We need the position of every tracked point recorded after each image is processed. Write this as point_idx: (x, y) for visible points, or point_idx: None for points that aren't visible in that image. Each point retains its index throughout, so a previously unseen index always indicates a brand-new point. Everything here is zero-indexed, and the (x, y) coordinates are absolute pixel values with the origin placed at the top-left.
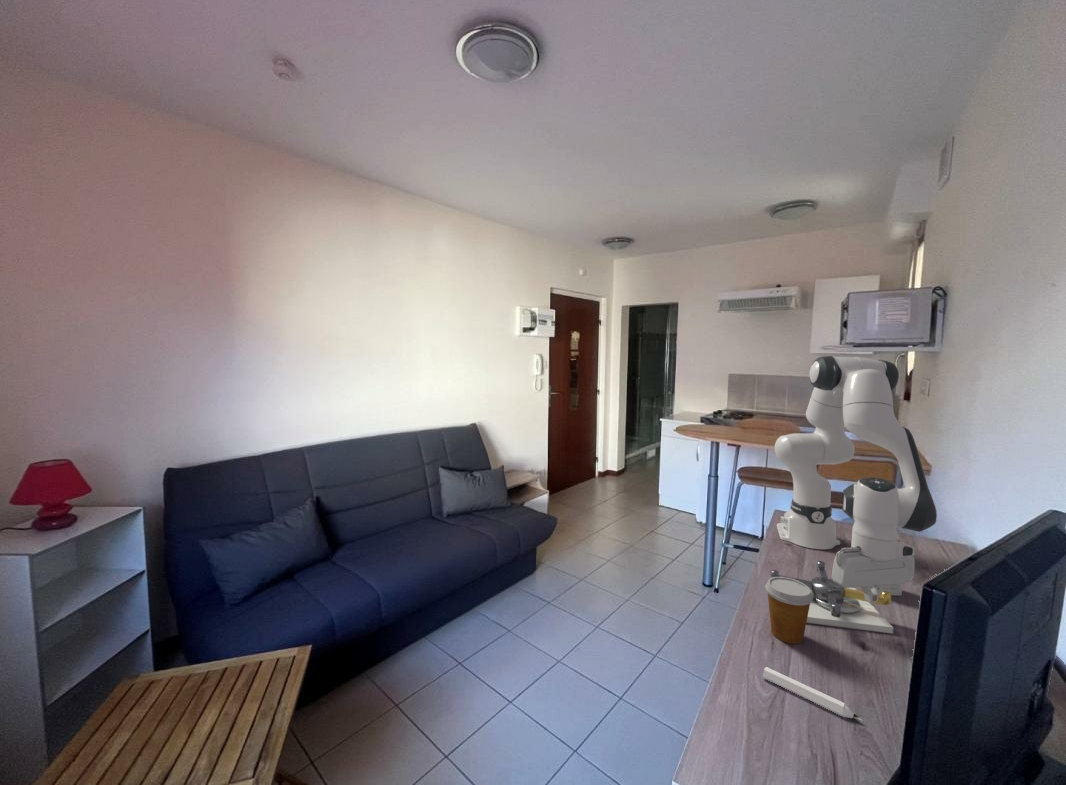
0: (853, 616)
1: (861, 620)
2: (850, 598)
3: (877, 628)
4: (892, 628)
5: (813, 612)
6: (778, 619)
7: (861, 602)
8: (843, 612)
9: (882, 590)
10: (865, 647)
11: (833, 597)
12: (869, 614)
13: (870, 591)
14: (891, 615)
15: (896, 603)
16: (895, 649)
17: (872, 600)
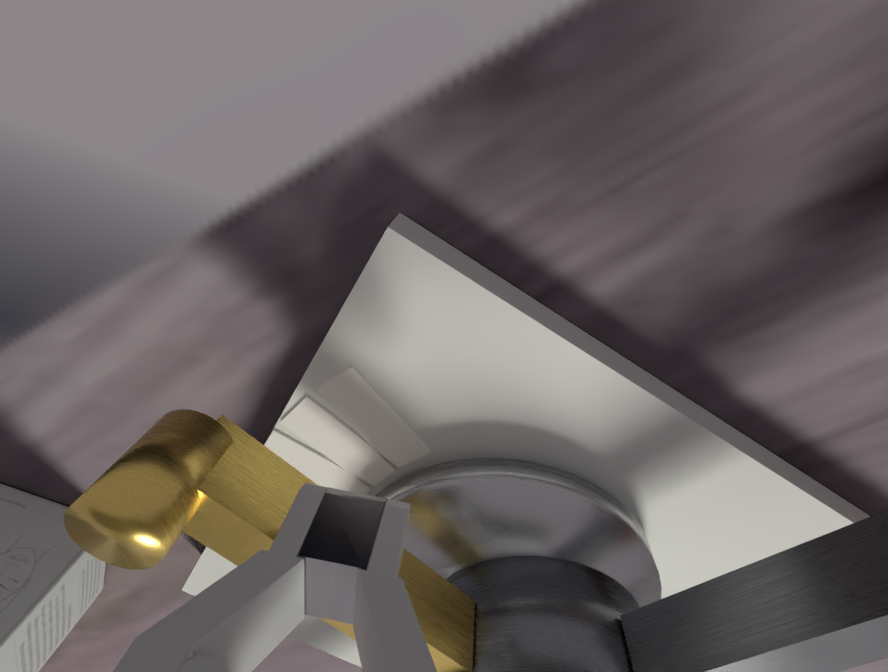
0: (552, 439)
1: (552, 388)
2: None
3: (498, 286)
4: (397, 226)
5: None
6: None
7: None
8: (601, 492)
9: (14, 523)
10: (883, 164)
11: (754, 667)
12: (393, 411)
13: (404, 648)
14: (176, 360)
15: (20, 423)
16: (653, 30)
17: (383, 509)
